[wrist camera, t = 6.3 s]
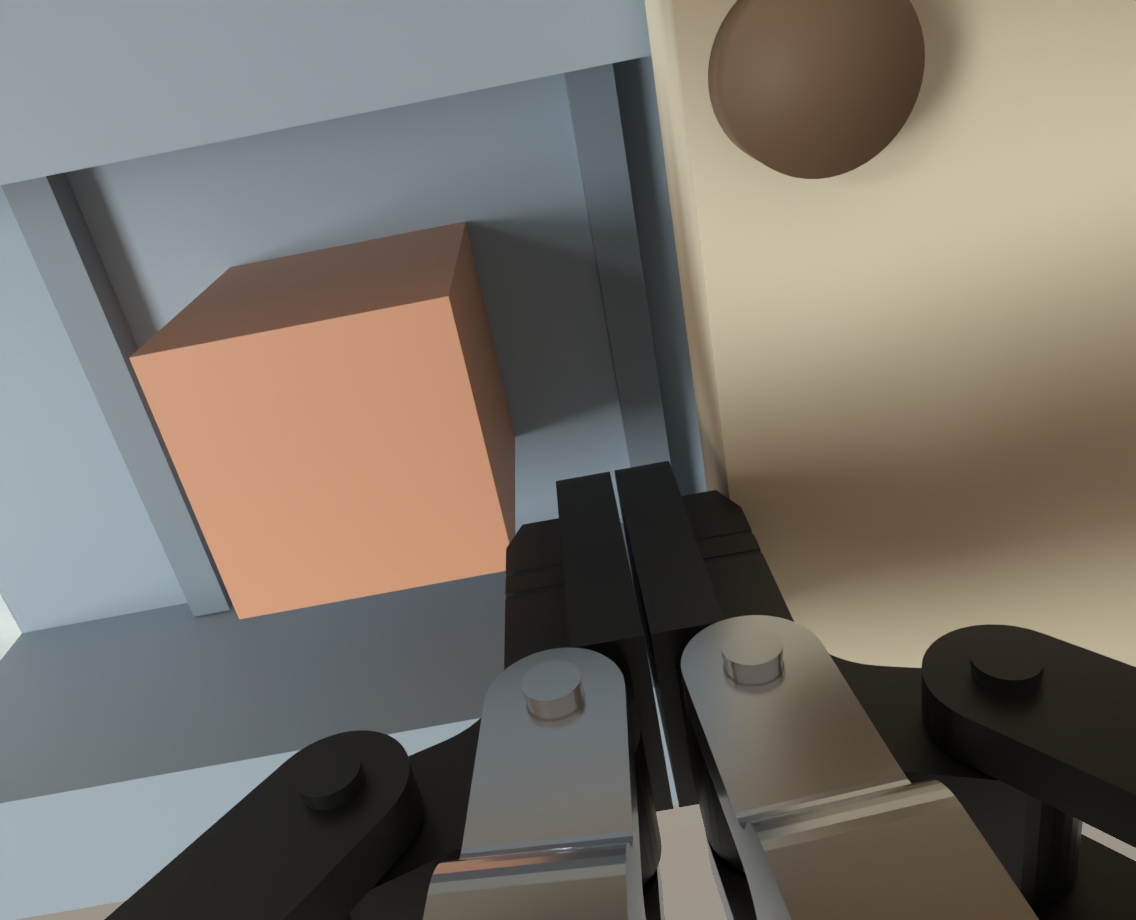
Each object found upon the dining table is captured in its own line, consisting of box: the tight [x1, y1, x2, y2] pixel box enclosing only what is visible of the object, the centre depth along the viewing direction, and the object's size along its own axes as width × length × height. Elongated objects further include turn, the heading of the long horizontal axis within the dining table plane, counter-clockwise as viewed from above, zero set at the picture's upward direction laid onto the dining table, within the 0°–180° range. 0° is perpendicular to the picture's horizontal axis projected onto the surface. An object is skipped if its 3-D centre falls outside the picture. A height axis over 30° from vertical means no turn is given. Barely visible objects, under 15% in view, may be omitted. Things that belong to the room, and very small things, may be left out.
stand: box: [0, 0, 707, 920], centre depth 15 cm, size 15×27×7 cm, turn 100°
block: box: [129, 221, 515, 619], centre depth 16 cm, size 4×4×5 cm
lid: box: [645, 0, 1136, 668], centre depth 11 cm, size 13×10×3 cm
